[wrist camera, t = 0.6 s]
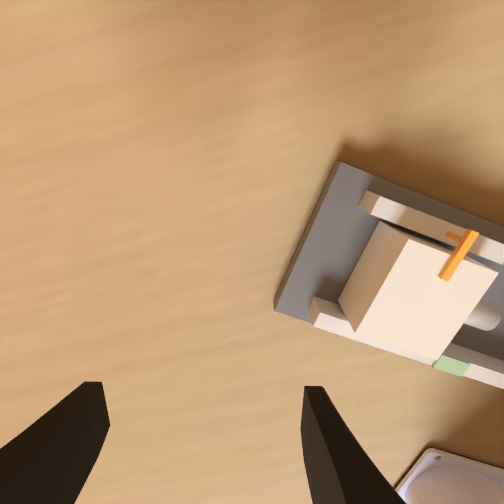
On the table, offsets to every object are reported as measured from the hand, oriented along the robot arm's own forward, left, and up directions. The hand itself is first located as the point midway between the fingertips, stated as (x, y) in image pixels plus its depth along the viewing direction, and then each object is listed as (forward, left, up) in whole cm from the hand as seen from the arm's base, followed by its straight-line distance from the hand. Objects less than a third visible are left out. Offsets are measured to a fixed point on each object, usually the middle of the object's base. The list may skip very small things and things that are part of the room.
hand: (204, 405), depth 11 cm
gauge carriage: (-11, -5, -9) cm, 15 cm away
